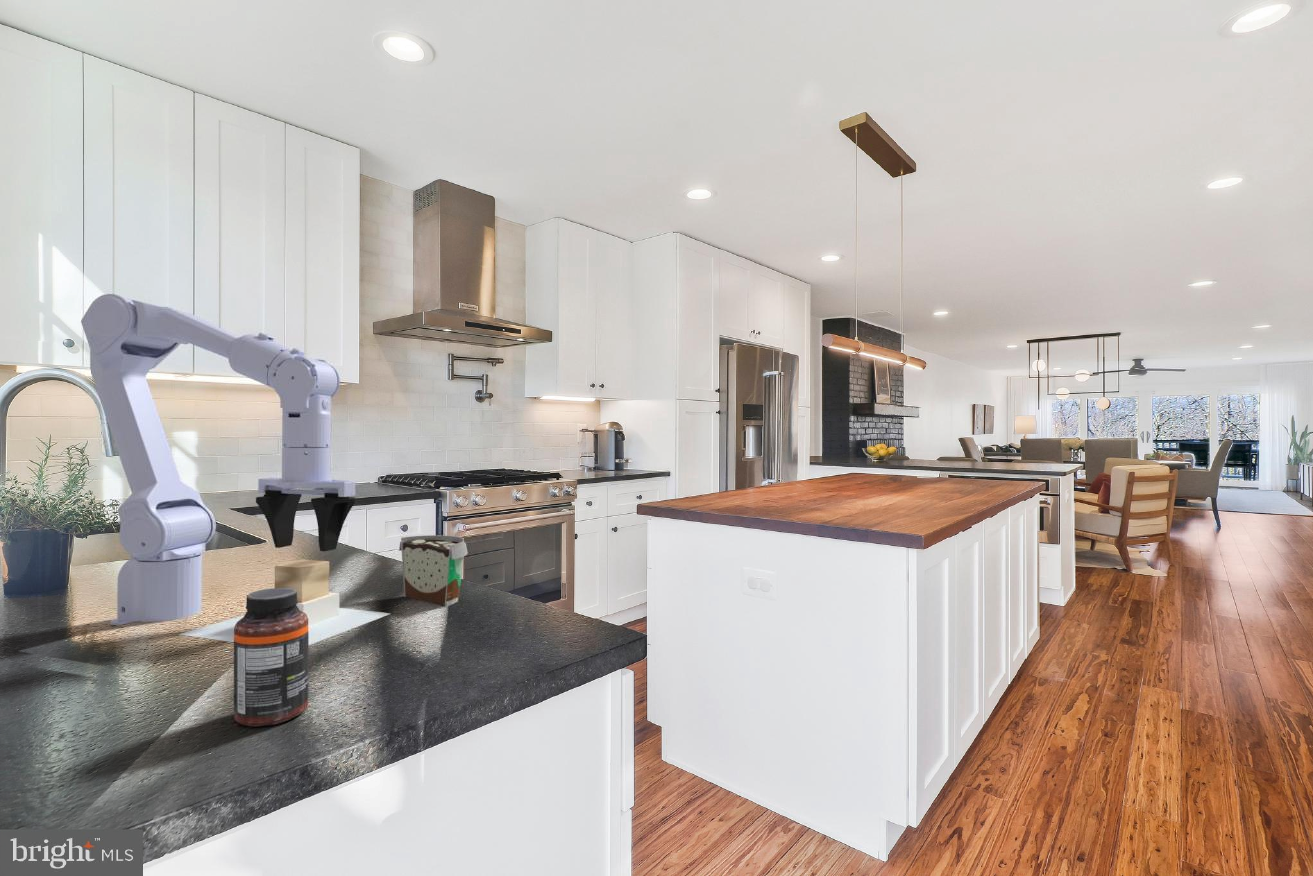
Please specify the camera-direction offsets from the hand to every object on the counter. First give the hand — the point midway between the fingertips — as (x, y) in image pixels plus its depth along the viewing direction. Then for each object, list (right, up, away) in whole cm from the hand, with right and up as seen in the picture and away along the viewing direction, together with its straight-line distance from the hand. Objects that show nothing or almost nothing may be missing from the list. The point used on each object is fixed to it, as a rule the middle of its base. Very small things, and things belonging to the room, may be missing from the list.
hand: (305, 548), depth 86 cm
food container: (+14, -11, +12) cm, 21 cm away
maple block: (0, -6, -1) cm, 6 cm away
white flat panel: (-1, -10, -2) cm, 11 cm away
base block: (0, -9, 0) cm, 9 cm away
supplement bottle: (+12, -11, -27) cm, 31 cm away
